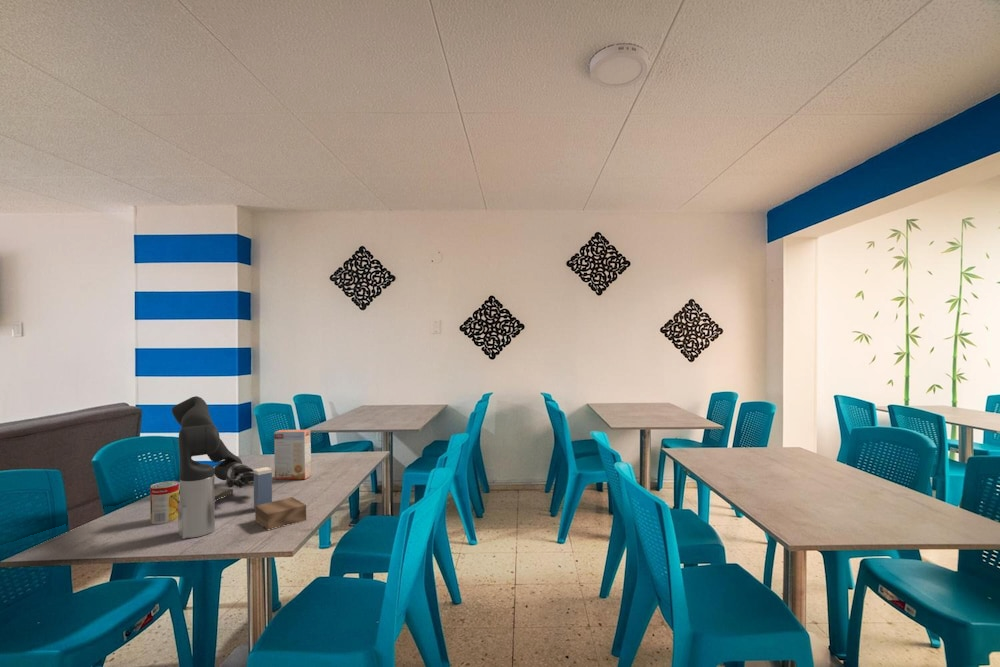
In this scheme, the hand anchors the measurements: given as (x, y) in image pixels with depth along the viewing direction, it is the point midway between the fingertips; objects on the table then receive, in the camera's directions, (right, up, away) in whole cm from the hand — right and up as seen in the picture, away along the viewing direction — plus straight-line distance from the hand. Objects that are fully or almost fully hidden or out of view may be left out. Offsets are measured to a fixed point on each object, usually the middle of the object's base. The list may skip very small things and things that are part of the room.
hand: (254, 482), depth 178 cm
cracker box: (+1, -8, +32) cm, 33 cm away
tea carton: (+7, -7, -7) cm, 12 cm away
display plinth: (+19, -7, -19) cm, 27 cm away
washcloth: (-21, -9, +4) cm, 23 cm away
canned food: (-22, -8, -17) cm, 28 cm away
